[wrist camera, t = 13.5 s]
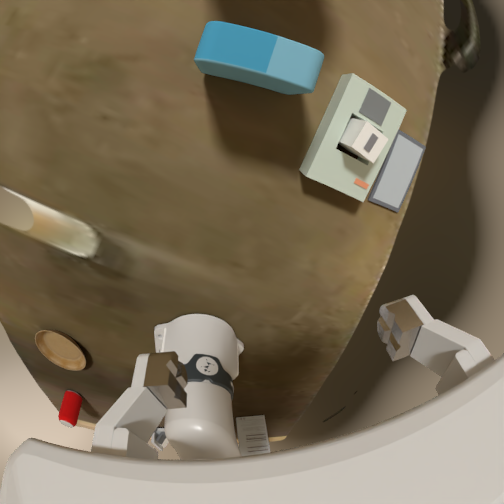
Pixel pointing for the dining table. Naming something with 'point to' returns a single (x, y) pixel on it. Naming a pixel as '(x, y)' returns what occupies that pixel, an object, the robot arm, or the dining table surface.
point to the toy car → (159, 438)
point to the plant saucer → (60, 349)
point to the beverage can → (70, 408)
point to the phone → (397, 172)
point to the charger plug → (363, 139)
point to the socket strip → (332, 127)
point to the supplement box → (252, 435)
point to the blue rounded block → (258, 58)
